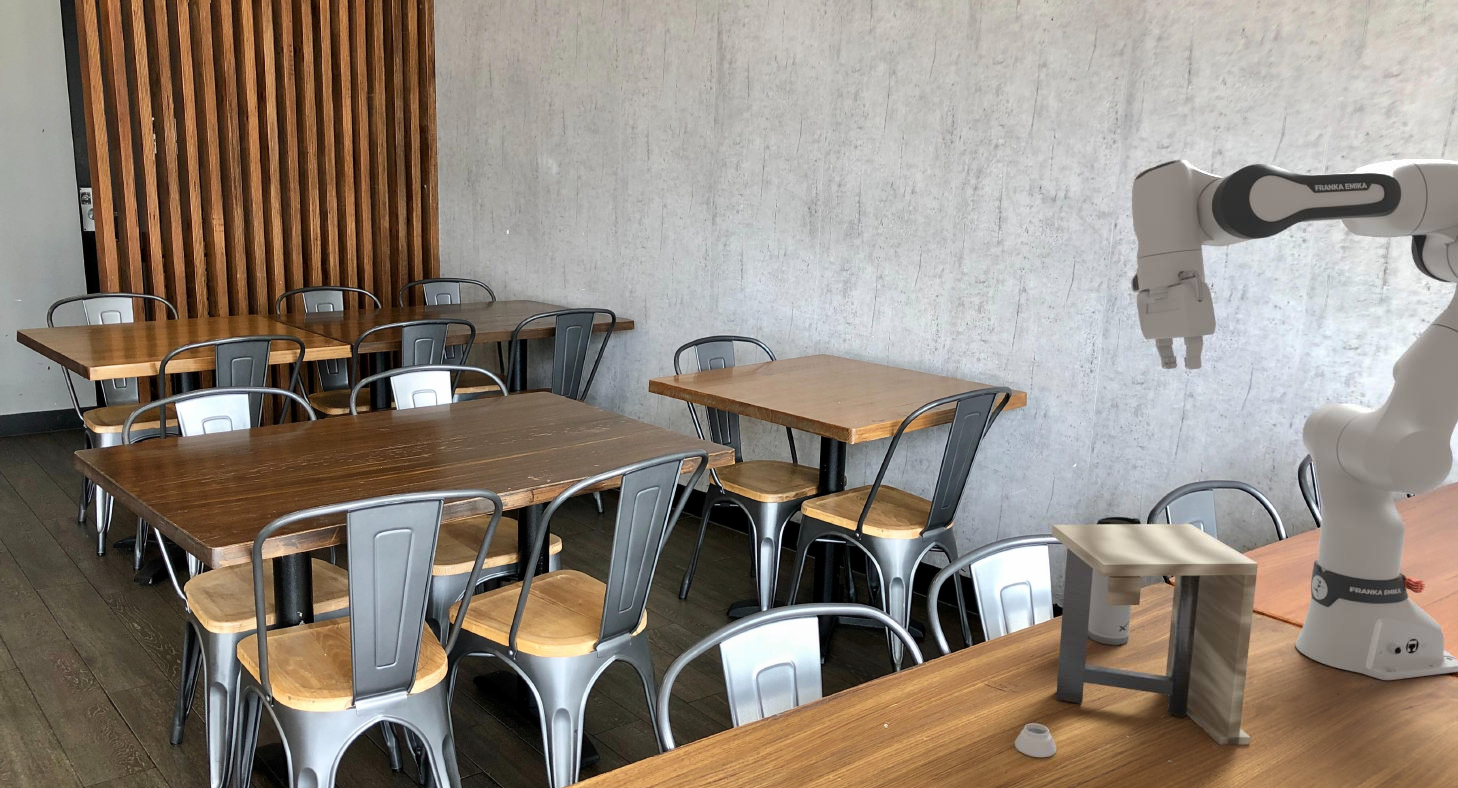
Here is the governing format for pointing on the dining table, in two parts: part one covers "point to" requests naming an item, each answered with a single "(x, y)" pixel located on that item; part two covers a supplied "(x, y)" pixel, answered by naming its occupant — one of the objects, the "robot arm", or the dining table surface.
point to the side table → (1218, 606)
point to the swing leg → (1078, 672)
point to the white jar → (1035, 741)
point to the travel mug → (1108, 619)
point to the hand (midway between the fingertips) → (1181, 368)
